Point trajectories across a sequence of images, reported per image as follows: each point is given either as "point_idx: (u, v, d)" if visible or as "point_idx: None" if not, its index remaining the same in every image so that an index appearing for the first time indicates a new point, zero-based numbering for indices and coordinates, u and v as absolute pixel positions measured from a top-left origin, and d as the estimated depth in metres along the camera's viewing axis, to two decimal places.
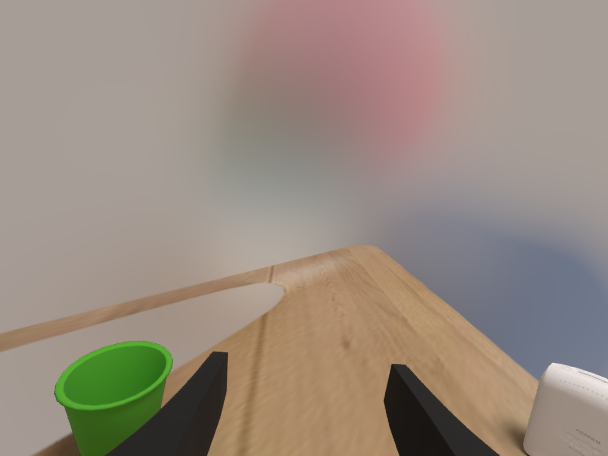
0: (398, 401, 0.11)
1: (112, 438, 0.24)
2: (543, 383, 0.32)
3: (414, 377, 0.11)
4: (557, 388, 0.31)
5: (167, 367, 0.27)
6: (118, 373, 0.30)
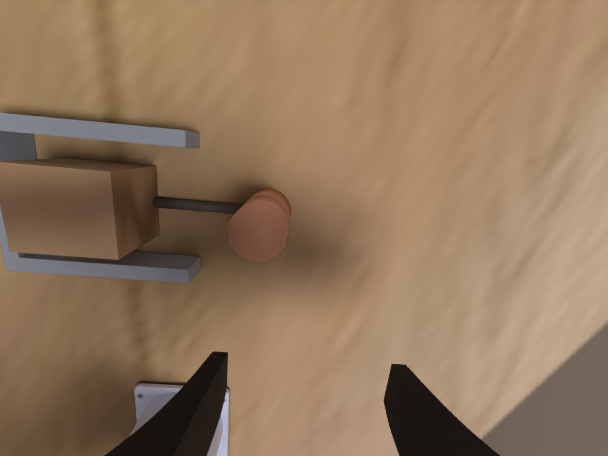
0: (398, 401, 0.11)
1: None
2: None
3: (414, 377, 0.11)
4: None
5: None
6: None
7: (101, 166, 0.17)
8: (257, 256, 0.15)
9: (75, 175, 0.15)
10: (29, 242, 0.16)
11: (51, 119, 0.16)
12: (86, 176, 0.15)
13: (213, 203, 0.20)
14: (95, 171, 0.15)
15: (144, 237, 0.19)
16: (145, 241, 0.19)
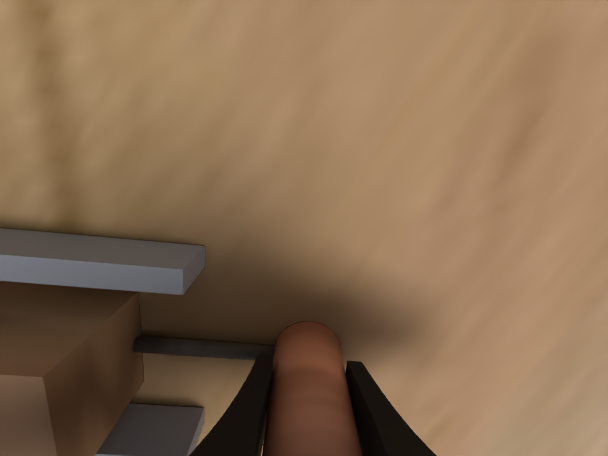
0: None
1: None
2: None
3: (366, 374, 0.11)
4: None
5: None
6: None
7: (40, 330, 0.10)
8: None
9: None
10: None
11: None
12: None
13: (225, 346, 0.13)
14: (15, 377, 0.08)
15: (117, 411, 0.12)
16: (119, 415, 0.12)
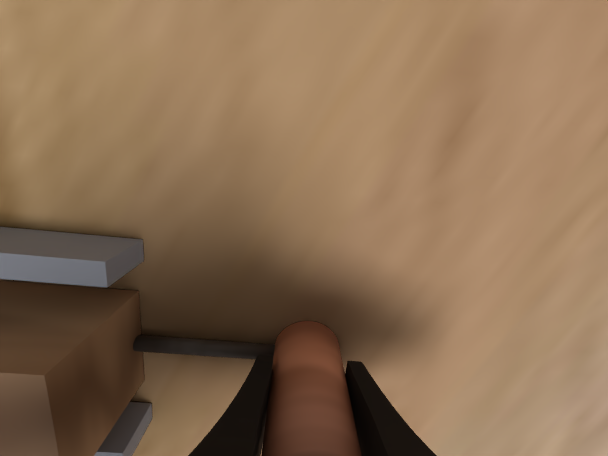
0: (350, 398, 0.11)
1: None
2: None
3: (366, 374, 0.11)
4: None
5: None
6: None
7: (41, 328, 0.10)
8: None
9: None
10: None
11: None
12: (1, 382, 0.08)
13: (225, 345, 0.13)
14: (17, 374, 0.08)
15: (118, 409, 0.12)
16: (120, 413, 0.12)
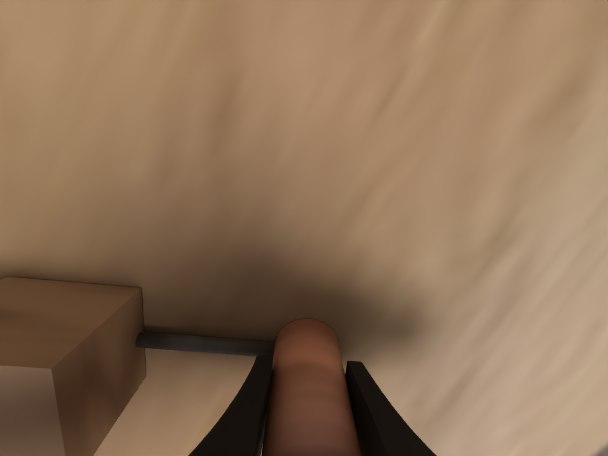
0: (350, 398, 0.11)
1: None
2: None
3: (366, 374, 0.11)
4: None
5: None
6: None
7: (47, 324, 0.10)
8: None
9: None
10: None
11: None
12: (8, 375, 0.08)
13: (226, 342, 0.13)
14: (24, 368, 0.08)
15: (121, 404, 0.12)
16: (122, 408, 0.13)
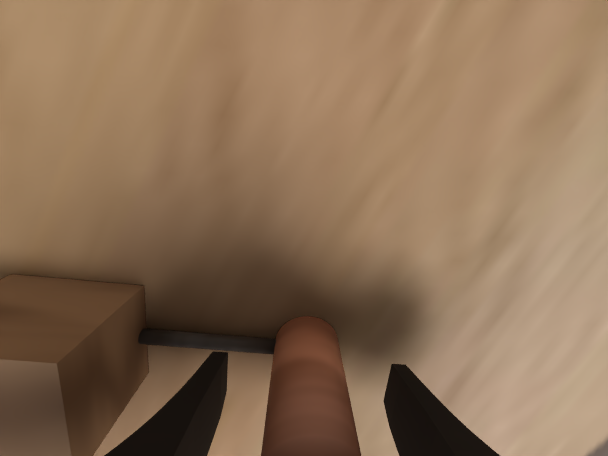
0: (398, 401, 0.11)
1: None
2: None
3: (414, 377, 0.11)
4: None
5: None
6: None
7: (52, 320, 0.10)
8: None
9: None
10: None
11: None
12: (15, 370, 0.09)
13: (227, 339, 0.14)
14: (31, 362, 0.09)
15: (124, 400, 0.13)
16: (126, 403, 0.13)
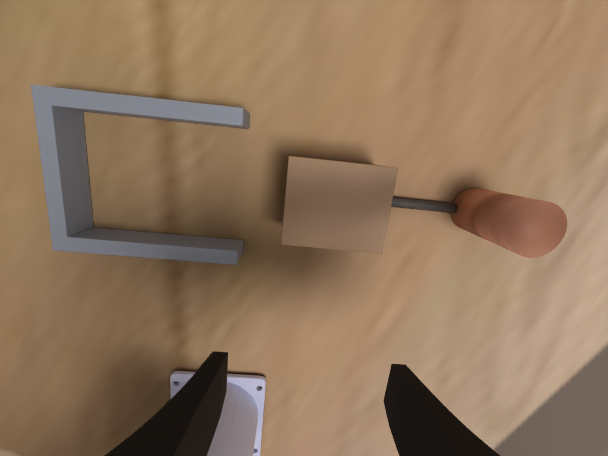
0: (398, 401, 0.11)
1: None
2: None
3: (414, 377, 0.11)
4: None
5: None
6: None
7: (359, 163, 0.17)
8: (531, 251, 0.16)
9: (364, 171, 0.15)
10: (302, 235, 0.16)
11: (110, 95, 0.16)
12: (374, 172, 0.15)
13: (426, 201, 0.21)
14: (384, 167, 0.15)
15: None
16: None
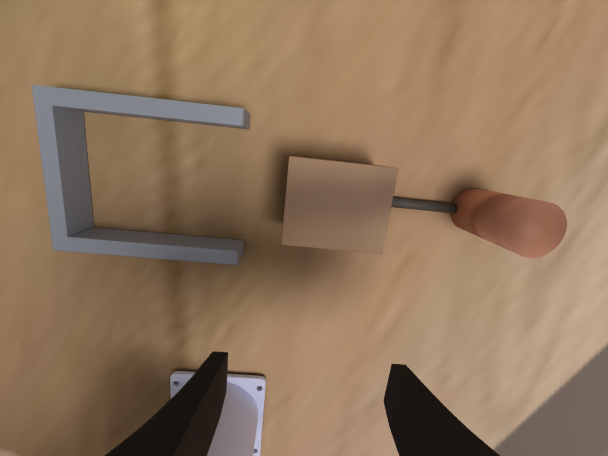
0: (398, 401, 0.11)
1: None
2: None
3: (414, 377, 0.11)
4: None
5: None
6: None
7: (359, 163, 0.17)
8: (531, 251, 0.16)
9: (364, 171, 0.15)
10: (302, 235, 0.16)
11: (110, 95, 0.16)
12: (374, 172, 0.15)
13: (426, 201, 0.21)
14: (384, 167, 0.15)
15: None
16: None
